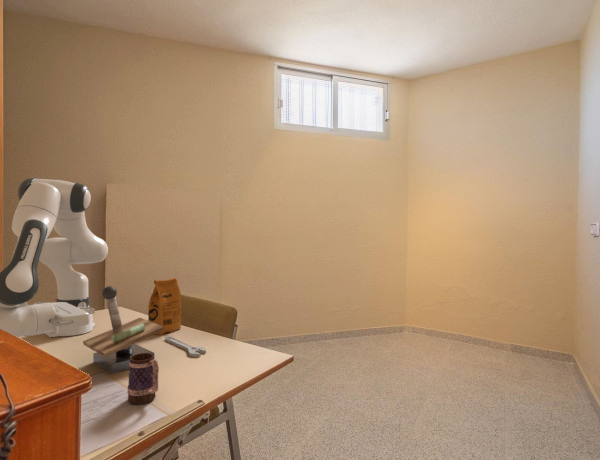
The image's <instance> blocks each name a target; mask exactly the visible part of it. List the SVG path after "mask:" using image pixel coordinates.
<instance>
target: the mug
mask: <svg viewBox="0 0 600 460" xmlns="http://www.w3.org/2000/svg"><path fill="white" fill-rule="evenodd" d="M159 369H160V367H159V362H158V361H157V359H155V355H154V356H153V355H152V354H150V353H140V354H136V355H133V356H131V357H130V361H129V369H128V385H127V401H128V403H129V404H131V405H136V406H137V405H138V406H139V405H146V404H149V403H151V402H152V401H154V399H155V398H156V396H157V395H156V393H157V392H158V391H159Z"/></svg>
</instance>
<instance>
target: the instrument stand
mask: <svg viewBox="0 0 600 460" xmlns="http://www.w3.org/2000/svg"><path fill="white" fill-rule="evenodd" d="M140 353H150V354H152V355H153V356H154V357H155V352H153V351H151V350H149V349H148V348H145V347H143V346H140V345H139V344H137V343H134V344H132V345H130V346H128V347H126V348H124V349H121V350H119V351H117V352H115V353H113V354H111V355H108V356H106V357H104V356H102V355H101V354H99V353H97V352H94V353H93V358H92V359H93V361H92V362H93V363H94V364H95V365H97V366H99V367H100V368H102V369H103V368H104V370H105V371H106V372H108V371H109V372H108V373H110V374H111V373H112V375H114V374H118V373H120V372H123V371H124V372H125V371H129V361H130V357H131V356H133V355H136V354H140Z"/></svg>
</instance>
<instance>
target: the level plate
mask: <svg viewBox="0 0 600 460" xmlns="http://www.w3.org/2000/svg"><path fill="white" fill-rule="evenodd" d="M117 294H118V290H117V289H116V288H115V287H114V286H112V285H110V286H109V285H108V286H106V287H105V288H103V289H102V294H101V295H102V297H103V298H104V299H105V302H106V306H107V309H108V313H109V315H108V316H109V318H110V323H111V327H112V329H109V330H107V331H104V332H102V333H100V334H98V335H94V336H93V337H90V338H87V339H85V340H83V341H82V343H83V346H85V347H87V348H89V349H90V350H92V351H94V353H99V354H101V355H102V356H104V357H106V356H108V355H111V354H113V353H115V352H117V351H119V350H121V349H124V348H126V347H128V346H130V345H132V344H134V343H135V344H137V343H139V342H140V341H143V340H145V339H147V338H149V337H152V336H153V335H157V334H156V333H158V332H160V331H162V330H164V327H163V326H161V325H158V324H156V323H153V322H150V321H148V319H145V318H142V317H138V318H135V319H133V320H131V321H128V322H125V323H124V324H123V323H122V319H121V315H120V310H119V306H118V302H117Z"/></svg>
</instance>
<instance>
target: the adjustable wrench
mask: <svg viewBox="0 0 600 460" xmlns="http://www.w3.org/2000/svg"><path fill="white" fill-rule="evenodd" d="M164 341H166V342H167V343H169V344H171V345H174V346H176V347H178V348H180V349H183V350H185V351H186V352H187V353H188V356H189V357H192V358H200V357H201V354H202V355H203V354H204V355H206V354H207V349H206V348H205V347H203V346H193V345H190V344H189V343H186V342H184V341H182V340H181V339H178V338H176V337H173V336H165V337H164Z"/></svg>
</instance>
